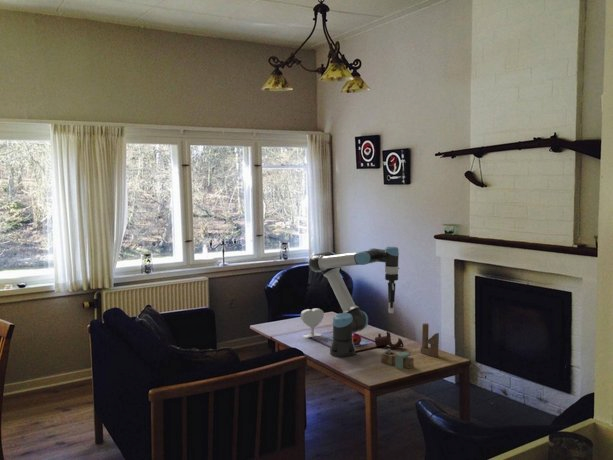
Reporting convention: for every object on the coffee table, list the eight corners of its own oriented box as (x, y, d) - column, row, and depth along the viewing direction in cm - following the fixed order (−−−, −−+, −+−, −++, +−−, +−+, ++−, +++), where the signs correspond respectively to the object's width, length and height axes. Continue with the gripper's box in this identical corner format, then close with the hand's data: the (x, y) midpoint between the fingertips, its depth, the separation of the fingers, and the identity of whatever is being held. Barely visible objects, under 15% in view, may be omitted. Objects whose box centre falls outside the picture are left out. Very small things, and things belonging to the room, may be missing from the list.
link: (381, 362, 310) (381, 353, 309) (387, 359, 315) (387, 350, 314) (408, 369, 298) (408, 360, 297) (414, 366, 303) (415, 357, 303)
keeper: (395, 367, 301) (395, 354, 300) (405, 364, 305) (405, 351, 304) (400, 369, 297) (401, 356, 297) (410, 366, 302) (410, 353, 301)
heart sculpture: (320, 333, 368) (320, 307, 366) (324, 335, 363) (324, 308, 362) (300, 336, 361) (300, 309, 360) (303, 338, 357) (303, 311, 355)
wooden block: (434, 357, 318) (435, 327, 316) (420, 352, 326) (420, 323, 325) (438, 356, 320) (439, 326, 319) (424, 351, 329) (424, 322, 327)
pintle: (387, 361, 310) (387, 349, 310) (387, 360, 312) (387, 348, 312) (391, 361, 310) (391, 349, 310) (390, 360, 312) (390, 348, 312)
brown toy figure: (402, 346, 330) (400, 330, 333) (375, 349, 336) (374, 333, 339) (404, 347, 335) (402, 331, 339) (378, 350, 341) (376, 334, 344)
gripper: (400, 275, 308) (399, 315, 310) (396, 271, 321) (395, 310, 323) (386, 275, 308) (386, 315, 310) (383, 271, 321) (383, 310, 323)
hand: (391, 312), depth 317 cm, fingers closed
